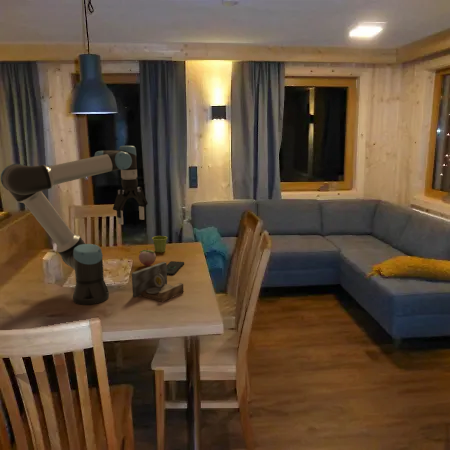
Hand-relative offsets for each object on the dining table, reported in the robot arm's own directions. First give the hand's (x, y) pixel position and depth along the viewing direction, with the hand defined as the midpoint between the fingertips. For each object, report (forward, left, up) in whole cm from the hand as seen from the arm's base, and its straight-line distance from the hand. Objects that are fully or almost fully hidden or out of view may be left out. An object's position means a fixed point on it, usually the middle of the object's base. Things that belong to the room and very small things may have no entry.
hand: (131, 221), depth 204 cm
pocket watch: (-10, -25, -27) cm, 39 cm away
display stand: (-8, -26, -29) cm, 40 cm away
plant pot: (+42, +23, -29) cm, 56 cm away
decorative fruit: (+17, +8, -29) cm, 34 cm away
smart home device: (+21, -7, -29) cm, 37 cm away
